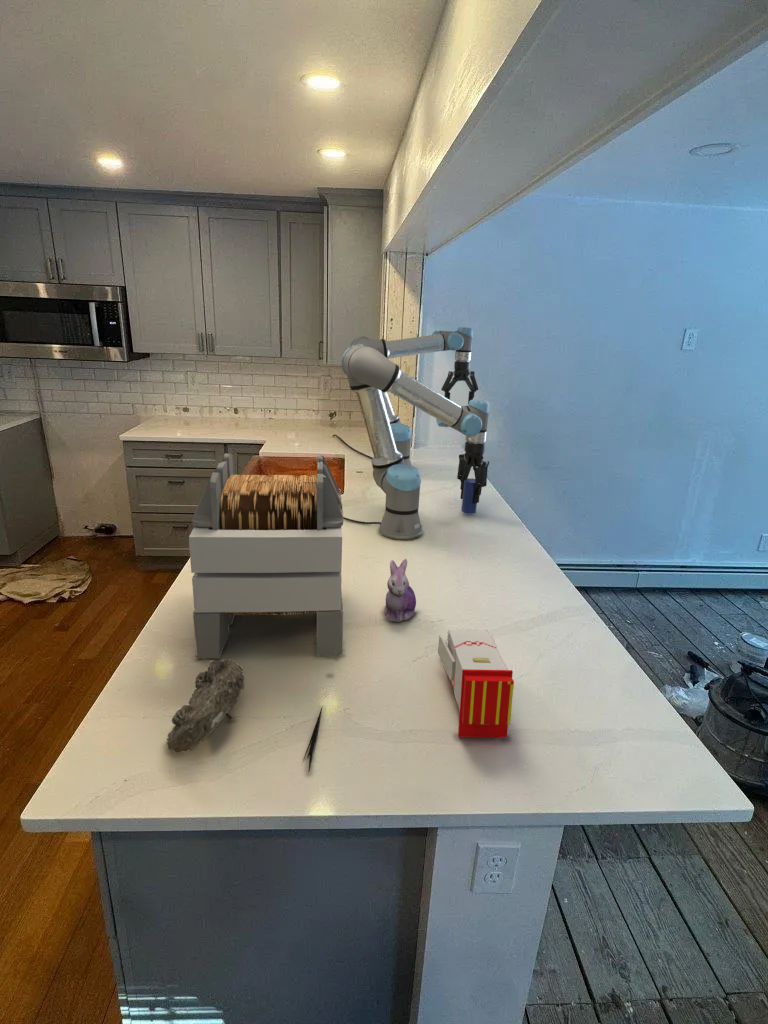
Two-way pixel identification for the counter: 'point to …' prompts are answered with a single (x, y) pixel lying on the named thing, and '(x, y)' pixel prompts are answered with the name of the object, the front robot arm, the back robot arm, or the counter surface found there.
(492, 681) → the toy
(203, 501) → the transformer
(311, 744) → the feather
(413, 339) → the back robot arm
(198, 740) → the fossil
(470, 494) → the can
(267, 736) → the counter surface
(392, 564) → the figurine
